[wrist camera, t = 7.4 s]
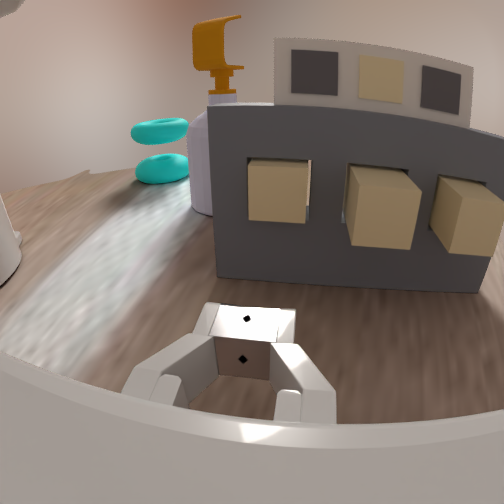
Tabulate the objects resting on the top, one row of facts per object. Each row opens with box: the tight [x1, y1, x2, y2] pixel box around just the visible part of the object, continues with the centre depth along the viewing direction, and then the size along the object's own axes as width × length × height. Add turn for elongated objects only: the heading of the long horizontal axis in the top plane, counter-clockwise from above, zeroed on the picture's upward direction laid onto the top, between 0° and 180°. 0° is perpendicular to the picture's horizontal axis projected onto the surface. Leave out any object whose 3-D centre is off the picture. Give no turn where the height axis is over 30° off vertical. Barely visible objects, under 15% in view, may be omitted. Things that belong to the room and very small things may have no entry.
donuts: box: [131, 118, 189, 184], centre depth 52 cm, size 10×10×10 cm
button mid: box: [343, 163, 422, 250], centre depth 22 cm, size 4×7×4 cm, turn 171°
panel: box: [207, 38, 504, 293], centre depth 23 cm, size 24×3×19 cm, turn 81°
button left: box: [248, 157, 308, 224], centre depth 25 cm, size 4×7×4 cm, turn 171°
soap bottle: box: [186, 15, 244, 216], centre depth 36 cm, size 9×9×25 cm
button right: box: [428, 174, 504, 257], centre depth 21 cm, size 4×7×4 cm, turn 171°
